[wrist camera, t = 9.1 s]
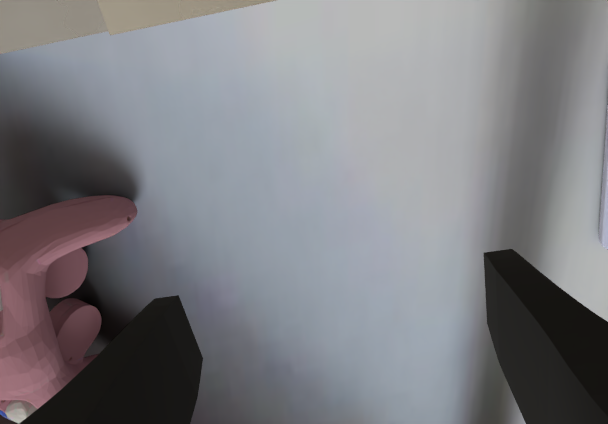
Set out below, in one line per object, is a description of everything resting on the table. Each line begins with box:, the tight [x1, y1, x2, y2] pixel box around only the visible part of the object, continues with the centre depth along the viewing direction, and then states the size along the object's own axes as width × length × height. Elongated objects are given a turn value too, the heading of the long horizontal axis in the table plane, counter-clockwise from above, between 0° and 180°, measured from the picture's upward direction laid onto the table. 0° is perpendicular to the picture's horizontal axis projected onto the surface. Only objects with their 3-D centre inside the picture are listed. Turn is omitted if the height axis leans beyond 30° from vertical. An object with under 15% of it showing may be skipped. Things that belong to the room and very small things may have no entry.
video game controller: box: [0, 195, 137, 423], centre depth 22 cm, size 10×5×7 cm, turn 0°
